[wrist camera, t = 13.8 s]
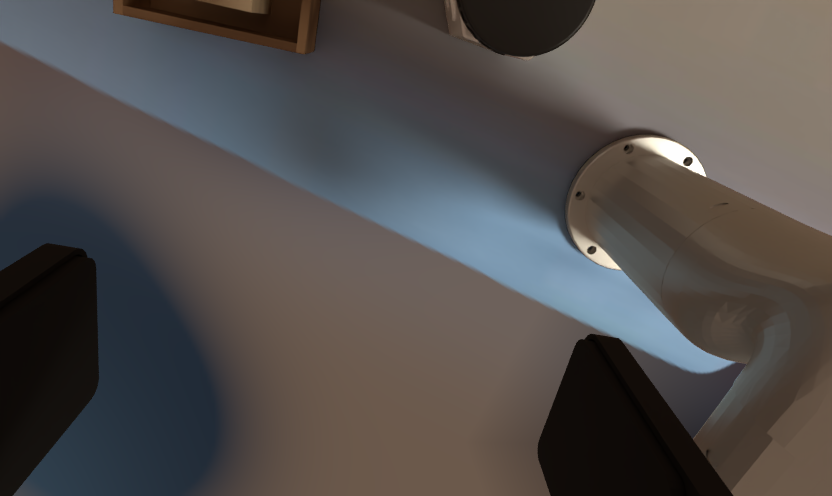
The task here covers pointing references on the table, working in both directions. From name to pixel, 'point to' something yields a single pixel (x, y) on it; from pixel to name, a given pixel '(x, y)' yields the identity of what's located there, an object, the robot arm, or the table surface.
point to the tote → (235, 20)
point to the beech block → (245, 5)
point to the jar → (516, 24)
